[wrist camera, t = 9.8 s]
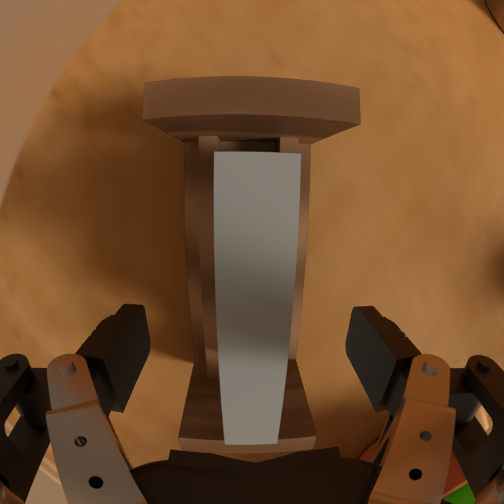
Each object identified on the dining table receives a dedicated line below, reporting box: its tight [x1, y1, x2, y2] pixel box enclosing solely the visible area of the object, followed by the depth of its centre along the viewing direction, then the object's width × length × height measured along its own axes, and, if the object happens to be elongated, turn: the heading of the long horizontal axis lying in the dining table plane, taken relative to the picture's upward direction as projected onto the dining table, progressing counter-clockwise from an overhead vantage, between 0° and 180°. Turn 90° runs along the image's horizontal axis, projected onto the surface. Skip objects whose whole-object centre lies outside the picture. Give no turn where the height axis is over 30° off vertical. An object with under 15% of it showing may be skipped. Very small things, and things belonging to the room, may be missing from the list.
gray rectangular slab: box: [214, 152, 301, 445], centre depth 14 cm, size 12×2×10 cm, turn 179°
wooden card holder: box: [142, 76, 360, 453], centre depth 15 cm, size 19×8×9 cm, turn 179°
